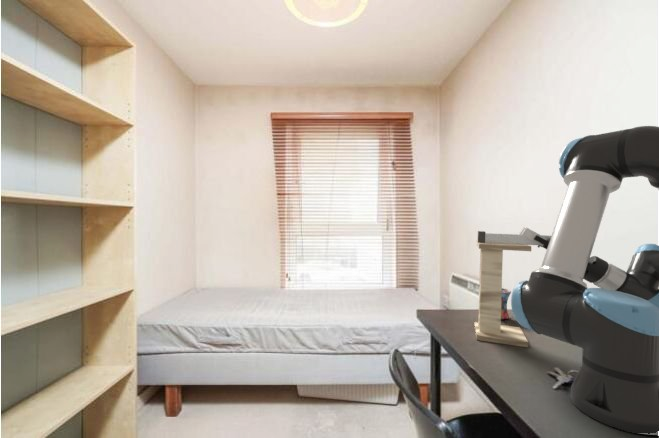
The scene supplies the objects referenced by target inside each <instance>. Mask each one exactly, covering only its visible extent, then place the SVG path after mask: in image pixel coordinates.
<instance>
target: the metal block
mask: <svg viewBox="0 0 659 438" xmlns="http://www.w3.org/2000/svg"><path fill="white" fill-rule="evenodd" d="M540 235H541V234H540ZM541 236H543V237H545V238H547V241H548V239H549V238H551V236H552V235H546V234H545V235H543V234H542V235H541ZM477 241H478V243H497V244H519V245H529V246H538V245H539V244H537V243H535V242H533V241H531V240H530V239H528V238H526V237H524V236H522V235H520V234H519V233H517V234H514V233H513V234H512V233H488V232H486V231H482V230H481V231H480V230H478V231H477ZM543 246H544V245H543Z"/></svg>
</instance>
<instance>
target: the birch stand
mask: <svg viewBox="0 0 659 438" xmlns="http://www.w3.org/2000/svg"><path fill="white" fill-rule="evenodd" d="M476 246H477V248H478V249H480V252H479V253H480V257H479V283H478V285H479V287H478V321H474V323H473V324H474V325H473V326H475V327H474V332H476V333H475V338H477V339H476V341H483V342H489V343H496V344H503V345H511V346H515V347H524V348H529V341H528V338H527V337H526V335H525V334H524V332H523V330H522V328H521V327H520V326H511V325H502V324H501V323H502V322H501V321H502V319H501V295H502V288H503V287H502V286H503V261H504V260H503V257H504V256H503V255H504V254H503V253H504V251H515V252H517V251H519V252H532V245H519V244H497V243H478V240H476Z"/></svg>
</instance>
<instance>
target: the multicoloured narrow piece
mask: <svg viewBox="0 0 659 438" xmlns="http://www.w3.org/2000/svg"><path fill="white" fill-rule="evenodd" d="M511 294H512V291H511V290H510V289H508V288H507V289H506V288H503V287H502V295H501V320H507V319H509V318H510V314H509V312H508V308H507V307H508V300H509V297H510V295H511Z"/></svg>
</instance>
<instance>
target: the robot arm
mask: <svg viewBox="0 0 659 438" xmlns="http://www.w3.org/2000/svg"><path fill="white" fill-rule="evenodd" d="M558 164H559V165H560V166H558V169H559V173H560V175H561V177H562V178H563V182H564V184H565V185H566V186H567V189H566V192H565V195H564V198H563V201H562V204H561V207H560V210H559V213H558V215H557V219H556V222H555V225H554V227H553V231H552V234H551V235H550V236H551V238H549V239H548V241H547V238H545V237H543V236H541V234H540V233H537V232H536V231H534V230H532V229H530V228H528V227H525V226H524V227H522V229H521V230H520V232H519V233H518V234H520V235H522V236H524V237H526V238H528V239H530V240H531V241H533V242H535V243H537V244H539V245H536V248H543V249H545V250H546V252H545V254H544V257H543V260H542V263H541V265H540V268H538V269H535V270H532V271H531V272H530V275H529V279H528V280H522V281H519V282H518V283H516V284H515V286H514V288H513V289H512V291H511V299H510V305H511V306H510V307H511V311H512V313H513V317H514V319H515V320H516V322H517V323H518V324H519V325H520V326H521V327H522V328H525V329H527V330H529V331H531V332H534V333H536V334H537V335H544V336H546V337H549V338H551V339H555V340H558V341H560V342H564V343H567V344H569V345H572V346H576V347H577V348H581V349H582V350H581V351H582V353H581V354H582V358H581V359H582V360H581V364H580V368H579V369H578V371H577V373H576V376H575V378H574V379H573V382H572V384H571V386H570V401H571V403H572V404H573V405H574V406H575V407H576V408H577V409H578V410H579V411H581V412H582V413H583V414H585V415H586V416H588V417H590V418H592V419H593V420H595V421H598V422H600V423H601V424H605V425H607V426H609V427H612V428H614V427H615V428H614V429H617V428H618V429H617V430H620V429H621V430H620V431H623V430H624V432H627V433H630V432H632V433H631V434H634V433H648V434H650V433H656V432H657V431H659V245H657V244H656V243H645V244H644V243H643V244H641V245H639V246H638V247H637V249H636V251H635V252H634V254H633V255H632V257H631V261H630V263H629V265H628V267H627V269H626V270H624V269H622V268H620V267H618V266H616V265H614V264H613V263H609V262H608V261H607V260H604V259H602V258H600V257H598V256H596V255H594V256H591V255H592V253H593V250H594V249H593V248H594V245H595V242H596V239H597V236H598V233H599V229H600V226H601V222H602V220H603V217H604V213H605V209H606V207H607V203H608V201H609V197H610V194H611V193H614V192H616V191H618V190H619V189H620V188H621V185H622V182H623V179H625V178H637V177H644V178H647V180H648V183H649V184H650V186H651V187H653V188H655V189H658V191H659V126H654V125H641V126H635V127H633V128H627V129H621V130H616V131H610V132H605V133H600V134H592V135H589V134H588V135H585V136H583V137H580V138H575V139H572V140H571V141H569V142H568V143H567V144H566V145H565V146H564V148H563V149H562V151H561V153H560V156H559V159H558ZM543 245H544V246H543ZM584 280H585V281H584ZM586 281H587V283H591V284H592V283H593V285H594V286H596V287H588V285H587V286H586V285H585V283H586ZM584 282H585V283H584Z"/></svg>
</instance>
